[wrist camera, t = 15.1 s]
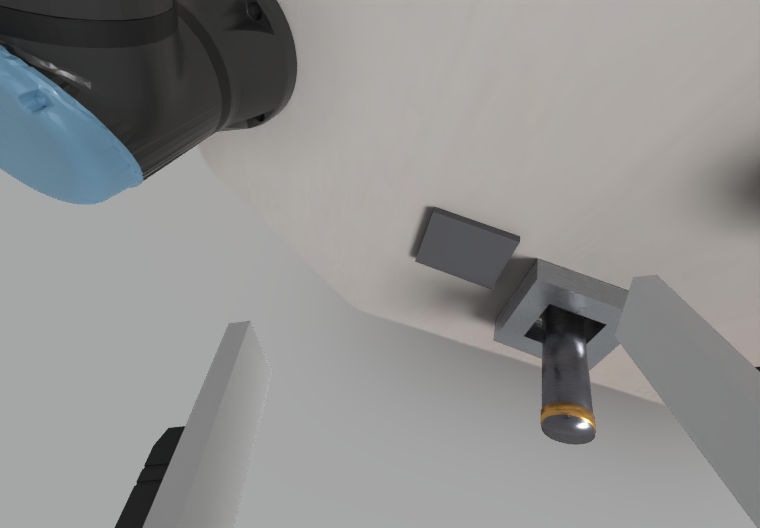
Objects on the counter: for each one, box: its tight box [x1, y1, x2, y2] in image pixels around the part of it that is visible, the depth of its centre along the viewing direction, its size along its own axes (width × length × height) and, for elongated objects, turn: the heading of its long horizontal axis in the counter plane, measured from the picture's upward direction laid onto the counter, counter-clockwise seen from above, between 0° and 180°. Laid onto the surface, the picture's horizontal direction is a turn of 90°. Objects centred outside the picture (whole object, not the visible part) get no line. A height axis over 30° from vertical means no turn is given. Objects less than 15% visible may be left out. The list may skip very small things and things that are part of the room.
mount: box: [415, 207, 520, 289], centre depth 45 cm, size 10×8×1 cm
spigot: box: [541, 304, 596, 444], centre depth 41 cm, size 5×5×16 cm
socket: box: [494, 259, 629, 370], centre depth 46 cm, size 12×12×4 cm
